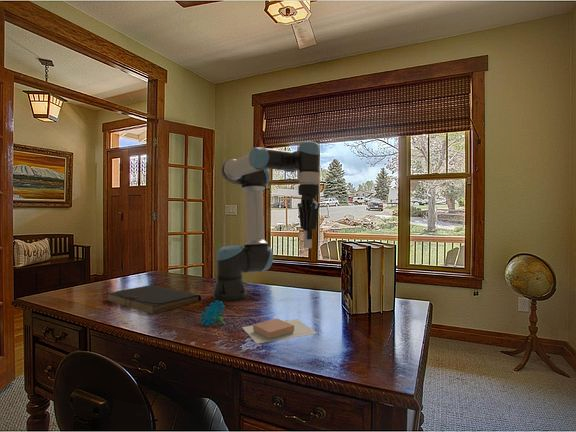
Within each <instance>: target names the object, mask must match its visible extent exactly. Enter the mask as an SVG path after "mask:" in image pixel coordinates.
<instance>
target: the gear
mask: <svg viewBox="0 0 576 432" xmlns="http://www.w3.org/2000/svg"><path fill="white" fill-rule="evenodd" d="M223 302H224V301H223V300H217V299H215V300H214V302H213V301H211V302H210V303H209V306H207V305H206V306H205V307H204V310H205V311H206V312H205V311H202V312H201V313H200V315H201V317H200V318H199V321H200V322H201V325H202V326H205V327H210V325H213V326H214V325H215V324H216V322H218V323H219V324H222V325H227V324H226V322H225V321H224V318H223V317H222V316H221V315H224V313H225V310H224V309H225V306H226V305H224V303H223Z"/></svg>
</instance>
